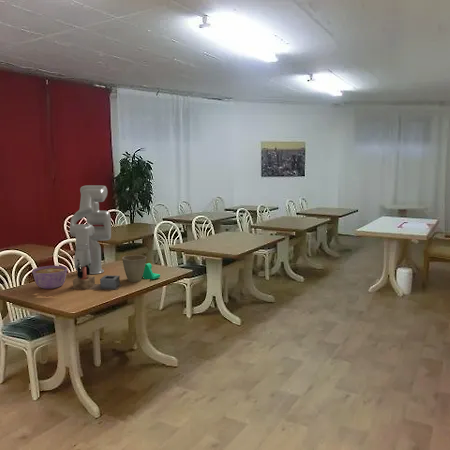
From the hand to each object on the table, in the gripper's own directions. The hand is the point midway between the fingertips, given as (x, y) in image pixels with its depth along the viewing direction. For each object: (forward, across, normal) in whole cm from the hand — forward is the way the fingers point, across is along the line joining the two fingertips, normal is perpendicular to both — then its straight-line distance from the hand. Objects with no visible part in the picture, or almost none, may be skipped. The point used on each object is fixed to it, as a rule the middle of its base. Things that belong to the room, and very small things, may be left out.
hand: (83, 276), depth 280 cm
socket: (+6, -4, +16) cm, 17 cm away
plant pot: (+8, -23, +22) cm, 33 cm away
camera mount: (+8, -35, +26) cm, 45 cm away
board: (+8, -2, +8) cm, 11 cm away
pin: (+6, 0, 0) cm, 6 cm away
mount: (+6, 0, 0) cm, 6 cm away
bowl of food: (+8, +6, -19) cm, 22 cm away
